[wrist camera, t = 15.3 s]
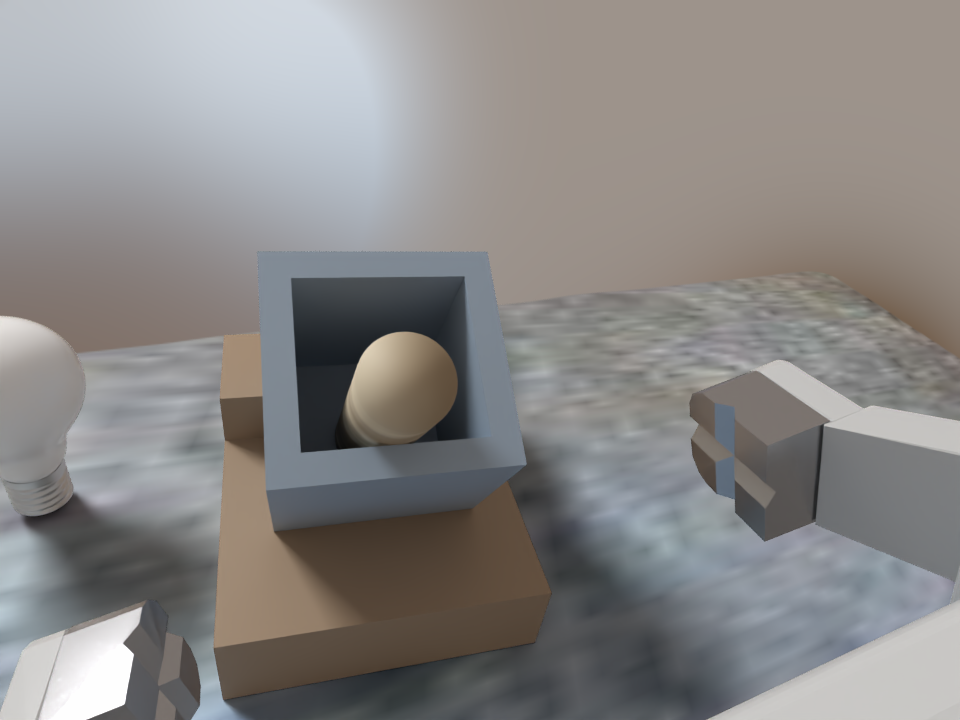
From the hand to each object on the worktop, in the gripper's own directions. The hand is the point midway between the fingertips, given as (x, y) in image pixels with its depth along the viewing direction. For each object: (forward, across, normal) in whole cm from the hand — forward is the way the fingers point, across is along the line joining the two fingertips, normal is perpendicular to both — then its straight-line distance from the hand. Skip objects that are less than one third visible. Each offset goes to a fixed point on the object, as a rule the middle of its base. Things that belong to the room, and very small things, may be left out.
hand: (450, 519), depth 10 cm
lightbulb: (+25, -18, -12) cm, 33 cm away
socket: (+21, -3, -18) cm, 28 cm away
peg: (+20, -1, -12) cm, 24 cm away
